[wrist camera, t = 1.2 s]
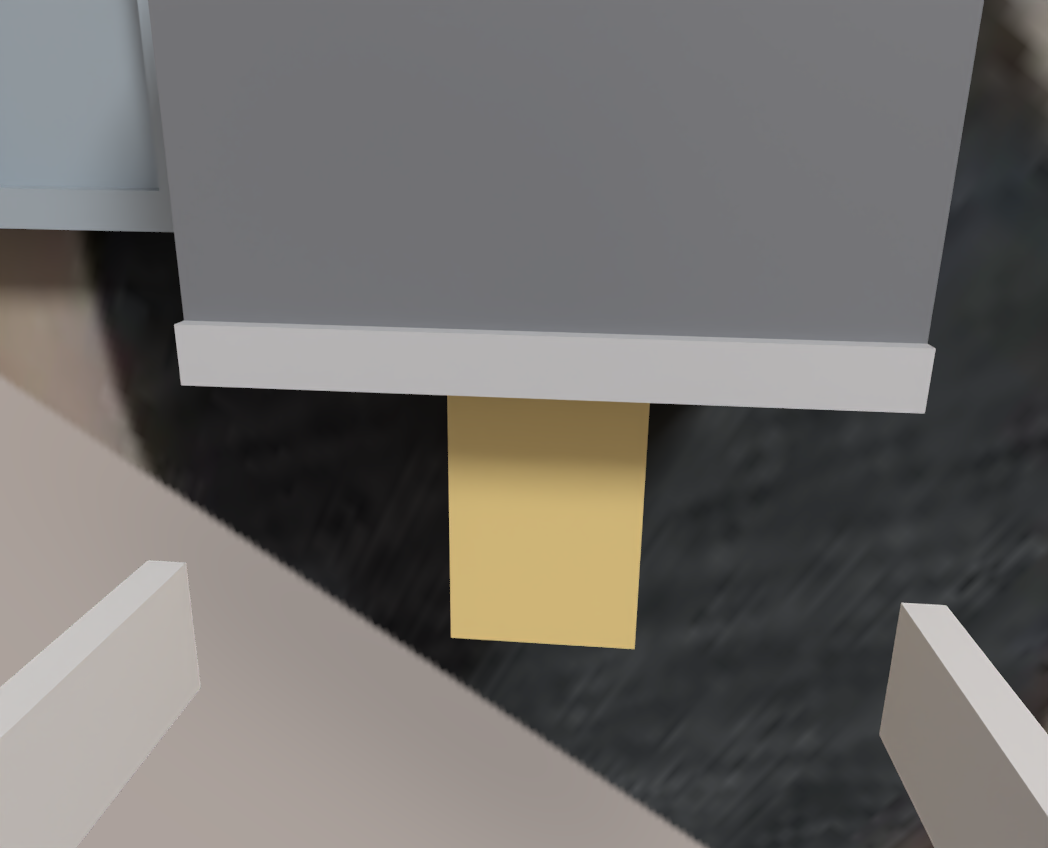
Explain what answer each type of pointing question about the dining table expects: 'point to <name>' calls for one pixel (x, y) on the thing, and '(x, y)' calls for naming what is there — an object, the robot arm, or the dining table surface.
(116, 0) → the tray
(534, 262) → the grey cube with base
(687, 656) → the dining table surface
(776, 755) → the dining table surface
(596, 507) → the yellow cuboid
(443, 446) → the dining table surface
